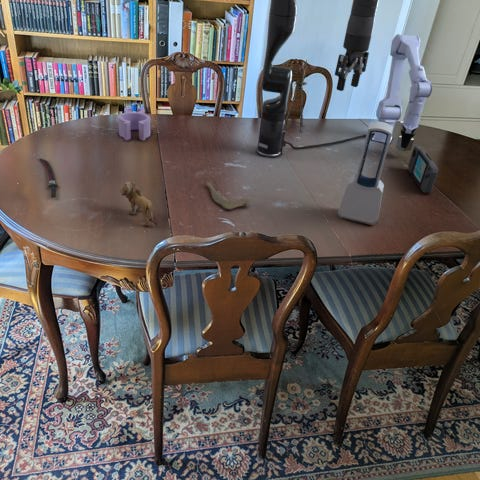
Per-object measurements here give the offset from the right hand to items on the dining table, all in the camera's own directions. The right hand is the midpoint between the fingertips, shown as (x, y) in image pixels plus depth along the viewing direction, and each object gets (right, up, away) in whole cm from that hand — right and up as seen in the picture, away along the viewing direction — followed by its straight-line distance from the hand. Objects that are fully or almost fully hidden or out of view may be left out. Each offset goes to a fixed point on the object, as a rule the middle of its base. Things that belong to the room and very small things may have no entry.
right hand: (404, 145), depth 193 cm
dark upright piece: (-44, +12, +22) cm, 50 cm away
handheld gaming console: (-1, -17, -17) cm, 24 cm away
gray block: (0, -1, +1) cm, 2 cm away
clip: (-111, +5, 0) cm, 111 cm away
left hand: (-35, +8, -47) cm, 59 cm away
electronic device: (-31, -32, -45) cm, 63 cm away
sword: (-130, -19, -41) cm, 138 cm away
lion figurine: (-97, -32, -57) cm, 117 cm away
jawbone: (-72, -25, -41) cm, 86 cm away
